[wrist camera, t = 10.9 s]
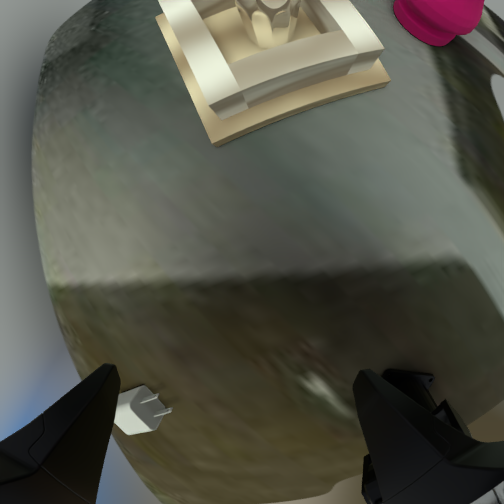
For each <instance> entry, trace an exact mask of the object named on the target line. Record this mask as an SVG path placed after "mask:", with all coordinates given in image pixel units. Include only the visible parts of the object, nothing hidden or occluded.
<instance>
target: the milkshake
mask: <svg viewBox="0 0 504 504" xmlns="http://www.w3.org/2000/svg"><path fill="white" fill-rule="evenodd" d="M233 1H234V3H235V6H236V8H237V10H238V12H239V15H240V17H241V19H242V22H243V24H244V26H245V29H246V31H247V34H248V36H249V39H250V40H251V41H252V42H253V43H254V44H256V45H257V46H258V47H259V48H265V49H271V48H274V47H277V46H280V45H283V44H286V43H289V42H290V41H291V39H292V38H293V36H294V32H295V27H296V22H297V17H298V12H299V8H300V2H301V0H233Z"/></svg>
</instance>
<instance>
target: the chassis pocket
mask: <svg viewBox="0 0 504 504" xmlns="http://www.w3.org/2000/svg"><path fill="white" fill-rule="evenodd" d="M158 1H159V3H160V5H161V7H162V9H163V11H164V13H162V14H160V15H158V16H157V17H155V18H156V20H157V22H158V24H159V26H160V29H161V31H162V33H163V35H164V37H165V40H166V42H167V44H168V46H169V49H170V51H171V53H172V55H173V57H174V60H175V62H176V64H177V66H178V69H179V71H180V73H181V75H182V77H183V80H184V82H185V84H186V86H187V89H188V91H189V93H190V95H191V98H192V100H193V102H194V104H195V107H196V109H197V111H198V113H199V116H200V118H201V120H202V122H203V125H204V127H205V129H206V131H207V134H208V136H209V138H210V140H211V143H212V144H213V145H215V146H216V147H219V146H221V145H223V144H225V143H227V142H229V141H231V140H234V139H236V138H238V137H240V136H243V135H245V134H247V133H250V132H252V131H254V130H257V129H259V128H261V127H264V126H266V125H269V124H271V123H274V122H276V121H279V120H281V119H284V118H287V117H289V116H292V115H295V114H297V113H300V112H303V111H306V110H309V109H311V108H314V107H317V106H320V105H323V104H326V103H329V102H333V101H336V100H339V99H342V98H346V97H349V96H352V95H356V94H360V93H363V92H367V91H371V90H375V89H378V88H383V87H385V86H386V85H387V84H388V83H389V82H390V81H391V79H390V78H389V76H388V74H387V72H386V71H385V69H384V67H383V66H382V64H381V62H380V61H379V59H378V57H379V56H380V55H381V53H382V52H383V50H384V49H385V48H384V47H383V45H382V44H381V42H380V41H379V39H378V38H377V36H376V35H375V34H374V32H373V31H372V29H371V28H370V27H369V25H368V24H367V23H366V21H365V20H364V19H363V17H362V16H361V15H360V14H359V12H358V11H357V10H356V9H355V7H354V6H353V5H352V4H351V3H350V1H349V0H301V2H300V8H299V12H298V17H297V22H296V27H295V32H294V36H293V38H292V39H291V41H290V42H289V43H286V44H283V45H280V46H277V47H274V48H271V49H265V48H259V47H258V46H257V45H256V44H254V43H253V42H252V41H251V40H250V39H249V36H248V34H247V31H246V29H245V26H244V24H243V22H242V19H241V17H240V15H239V12H238V10H237V8H236V6H235V3H234V1H233V0H158Z"/></svg>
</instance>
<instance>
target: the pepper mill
mask: <svg viewBox="0 0 504 504" xmlns="http://www.w3.org/2000/svg"><path fill="white" fill-rule="evenodd" d="M483 4H484V0H395V2H394V5H393V8H394V13H395V15H396V17H397V19H398V20H399V22H400V23H401V24H402V25H403V27H404V28H405V29H406V30H408V31H409V32H410V33H411V34H412V35H414V36H415V37H417V38H418V39H419V40H421V41H423V42H425V43H427V44H430V45H434V46H444V45H446V44H447V43H449V42H450V41H451V40H452V39H453V38H454V37H455V36H456V35H466V34H468V33H470V32H471V31H472V30H473V29H474V28H475V27H476V26H477V24H478V22H479V20H480V18H481V15H482V10H483Z"/></svg>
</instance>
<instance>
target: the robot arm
mask: <svg viewBox="0 0 504 504" xmlns="http://www.w3.org/2000/svg"><path fill="white" fill-rule="evenodd" d="M388 374H390V375H388ZM387 375H388V376H387ZM434 379H435V377H434V376H433V374H426V373H416V372H408V371H400V370H392V369H388V370H386V371H385V372H384V373H383V375H382V377H380V376H379V375H377V374H376V373H375V372H373V371H372V370H370V369H365V370H360V371H359V373H358V375H357V377H356V379H355V381H354V383H353V393H354V398H355V402H356V407H357V412H358V418H359V421H360V425H361V428H362V431H363V434H364V438H365V441H366V444H367V447H368V451H369V454H368V455H366V456H364V463H363V477H362V495H363V496H364V499H365V501H366V503H367V504H504V441H500V442H490V443H485V442H480V441H477V440H475V439H473V438H472V436H471V433H470V431H469V429H468V428H467V426H466V425H465V423H464V421H463V420H462V418H461V417H460V415H459V414H458V413H457V412H456V411H455V410H454V408H453V407H452V406H451V405H450V404H449V403H448V401H447V400H446V399H445V400H444V401H442V402H441V404H440V405H439V406H437V405H436V403H435V401H434V399H433V398H432V396H431V394H430V393H429V391H428V389H429V387H430V386H431V384H432V383H433V381H434ZM120 385H121V381H120V377H119V374H118V371H117V368H116V366H115V365H114V364H109V363H104V364H103V365H101V366H100V367H99V368H98V369H96V370H95V371H94V372H93V373H91V374H90V375H89V376H88V377H86V378H85V379H84V380H83V381H81V382H80V383H79V384H78V385H76V386H75V387H74V388H73V389H71V390H70V391H69V392H68V393H66V394H65V395H64V396H63V397H61V398H60V399H59V400H58V401H56V402H55V403H54V404H53V405H52V406H50V407H49V408H48V409H47V410H45V411H44V412H43V413H41V414H40V415H39V416H38V417H37V418H35V419H34V420H33V421H31V422H30V423H29V424H27V425H26V426H25V427H23V428H21V429H20V430H18V431H17V432H15V433H14V434H12V435H10V436H9V437H7V438H6V439H4V440H2V441H1V442H0V504H96V498H97V492H98V487H99V482H100V477H101V473H102V468H103V464H104V459H105V455H106V451H107V447H108V443H109V439H110V435H111V432H112V428H113V424H114V420H115V415H116V409H117V402H118V396H119V391H120Z"/></svg>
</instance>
